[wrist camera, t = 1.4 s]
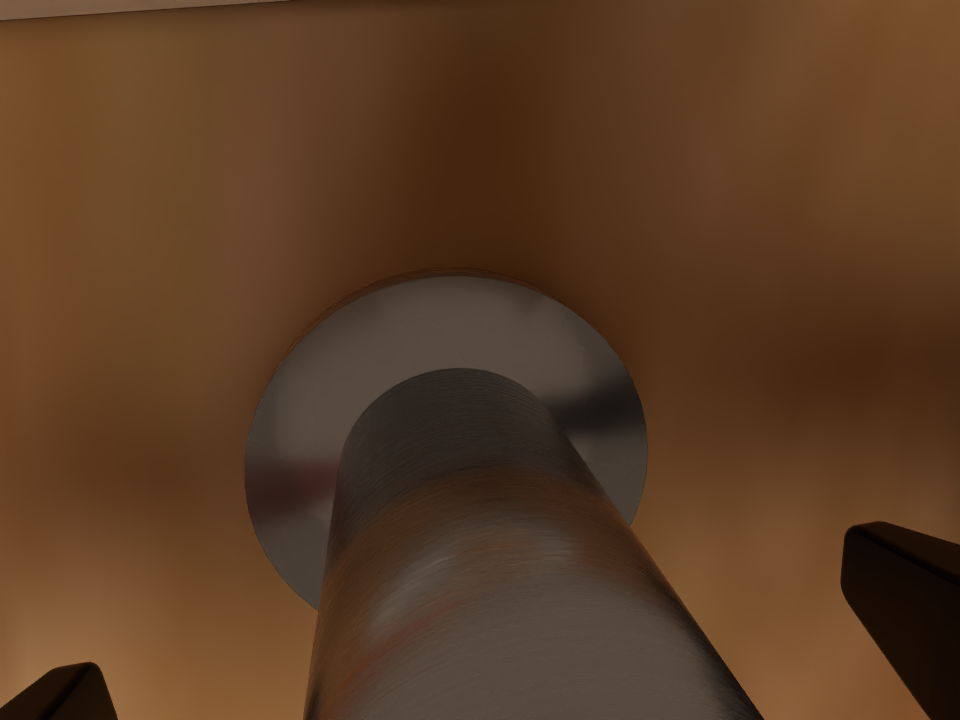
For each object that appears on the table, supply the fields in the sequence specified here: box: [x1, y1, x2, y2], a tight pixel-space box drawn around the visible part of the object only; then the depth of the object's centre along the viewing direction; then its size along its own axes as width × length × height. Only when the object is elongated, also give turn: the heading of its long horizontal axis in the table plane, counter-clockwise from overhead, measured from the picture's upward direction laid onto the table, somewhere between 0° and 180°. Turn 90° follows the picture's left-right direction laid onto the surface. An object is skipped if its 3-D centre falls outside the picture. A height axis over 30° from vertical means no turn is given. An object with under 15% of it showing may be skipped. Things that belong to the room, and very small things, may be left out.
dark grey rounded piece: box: [245, 268, 764, 720], centre depth 8 cm, size 7×7×9 cm
